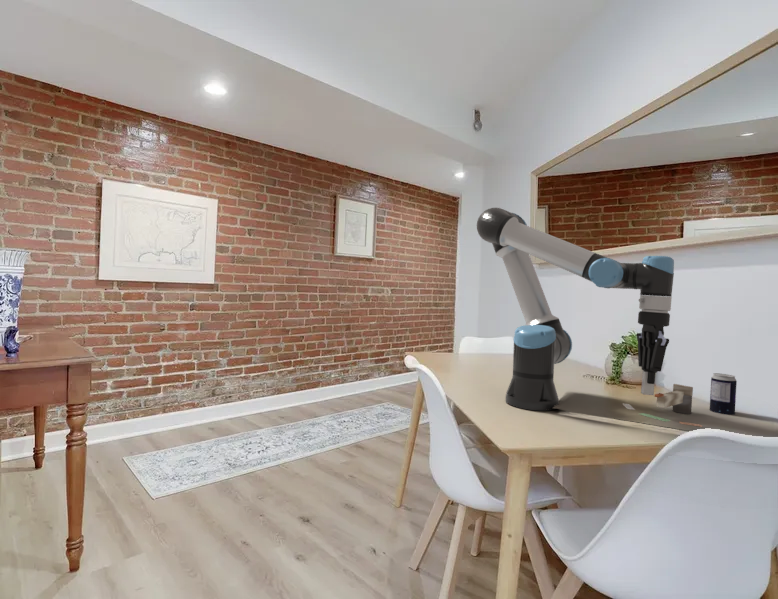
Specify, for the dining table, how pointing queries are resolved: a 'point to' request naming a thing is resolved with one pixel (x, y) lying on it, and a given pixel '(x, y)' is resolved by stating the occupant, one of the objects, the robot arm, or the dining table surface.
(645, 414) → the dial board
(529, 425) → the dining table surface
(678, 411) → the peg lever
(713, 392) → the beverage can
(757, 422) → the dining table surface
